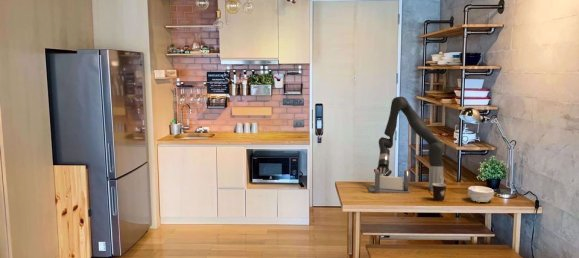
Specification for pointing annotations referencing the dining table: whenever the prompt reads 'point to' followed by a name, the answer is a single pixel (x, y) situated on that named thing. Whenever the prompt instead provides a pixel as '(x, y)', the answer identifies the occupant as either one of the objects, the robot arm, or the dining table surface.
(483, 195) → the paper bowls
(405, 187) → the gate posts
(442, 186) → the coffee mug
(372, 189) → the mat
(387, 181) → the gate
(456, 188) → the dining table surface
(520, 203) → the dining table surface
